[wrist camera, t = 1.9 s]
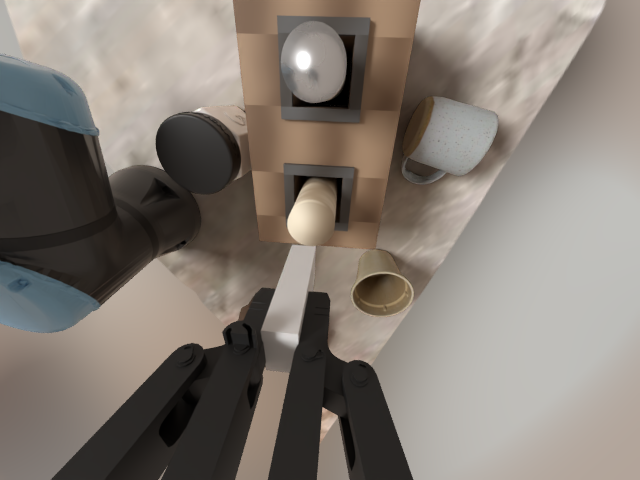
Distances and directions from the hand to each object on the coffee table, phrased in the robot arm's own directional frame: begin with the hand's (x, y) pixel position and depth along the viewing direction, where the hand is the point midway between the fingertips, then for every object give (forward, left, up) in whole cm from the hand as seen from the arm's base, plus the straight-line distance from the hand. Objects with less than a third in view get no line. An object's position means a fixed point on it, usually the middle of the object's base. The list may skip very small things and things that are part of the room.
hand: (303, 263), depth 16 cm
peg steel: (0, +11, -16) cm, 20 cm away
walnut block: (0, +6, -24) cm, 24 cm away
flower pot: (+10, -16, -24) cm, 31 cm away
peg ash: (0, 0, -16) cm, 16 cm away
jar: (-13, +4, -24) cm, 28 cm away
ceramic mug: (+14, +4, -24) cm, 28 cm away
